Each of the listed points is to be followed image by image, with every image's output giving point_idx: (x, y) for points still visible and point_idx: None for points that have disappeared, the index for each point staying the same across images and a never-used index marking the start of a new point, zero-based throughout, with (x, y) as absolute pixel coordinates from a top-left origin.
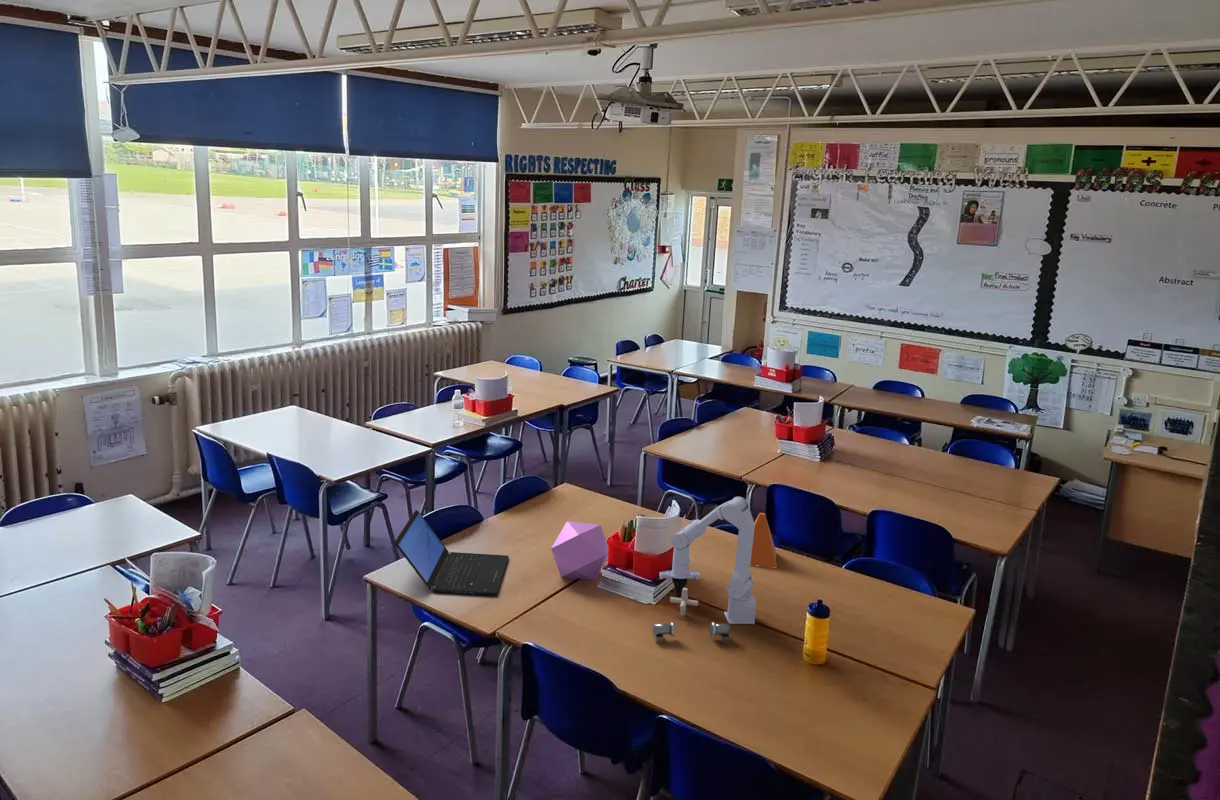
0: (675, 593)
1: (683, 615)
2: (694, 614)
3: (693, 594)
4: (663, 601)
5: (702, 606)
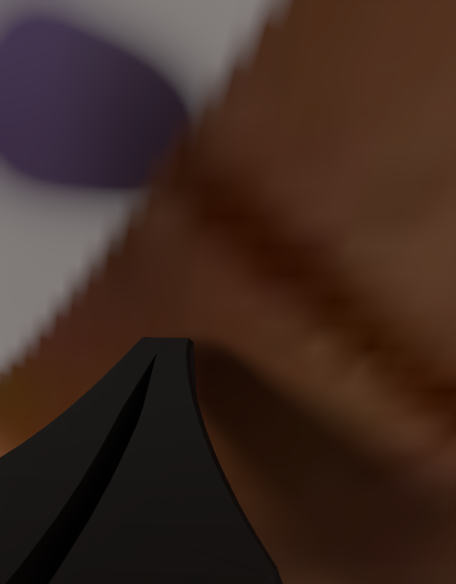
0: (132, 349)
1: None
2: (292, 568)
3: (439, 224)
4: (7, 387)
5: (422, 478)
